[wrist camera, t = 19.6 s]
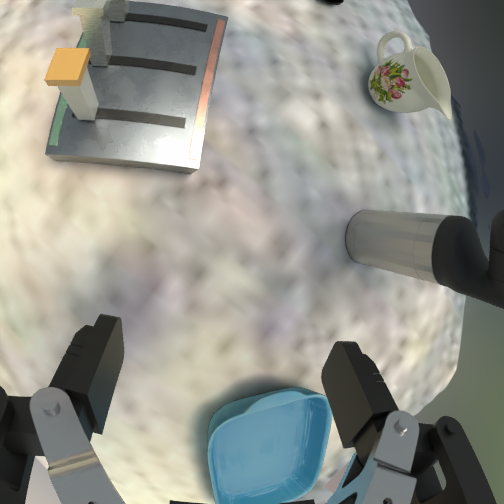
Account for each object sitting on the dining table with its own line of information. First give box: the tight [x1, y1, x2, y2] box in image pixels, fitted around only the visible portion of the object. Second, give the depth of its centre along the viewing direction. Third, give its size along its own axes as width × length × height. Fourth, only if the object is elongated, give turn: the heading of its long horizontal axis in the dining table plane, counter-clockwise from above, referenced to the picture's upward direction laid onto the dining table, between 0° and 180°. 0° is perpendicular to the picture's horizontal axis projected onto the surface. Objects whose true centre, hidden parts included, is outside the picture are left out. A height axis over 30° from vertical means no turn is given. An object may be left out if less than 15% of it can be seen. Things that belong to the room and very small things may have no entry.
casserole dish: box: [207, 387, 332, 504], centre depth 44 cm, size 37×22×7 cm, turn 0°
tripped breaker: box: [45, 48, 99, 121], centre depth 20 cm, size 3×3×12 cm
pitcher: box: [368, 31, 452, 120], centre depth 39 cm, size 11×18×14 cm, turn 17°
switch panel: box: [45, 0, 228, 174], centre depth 24 cm, size 18×22×18 cm
